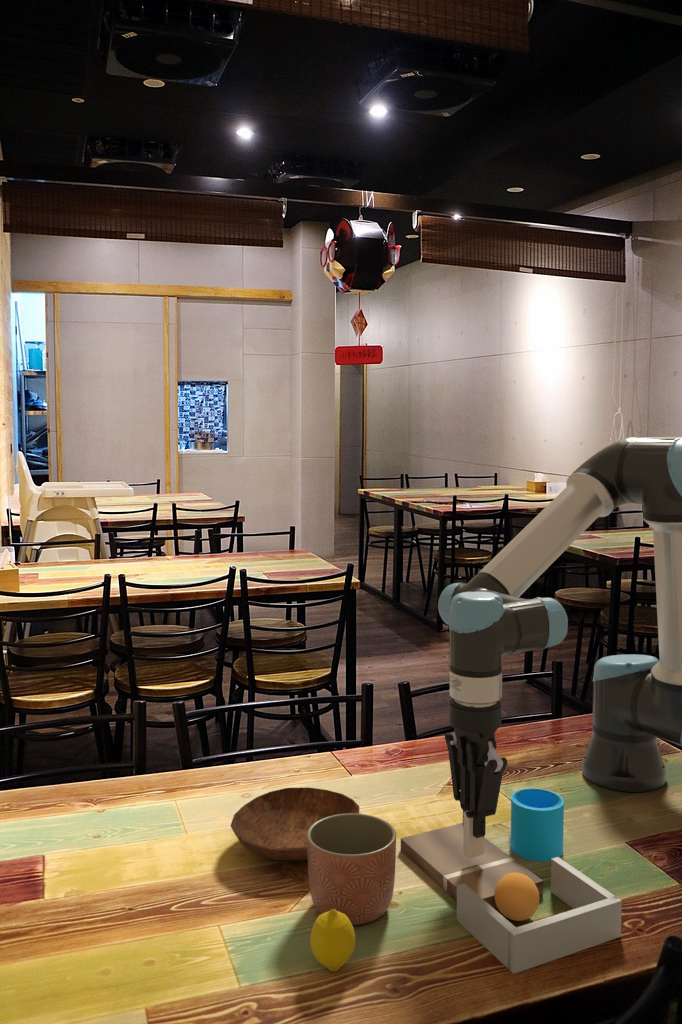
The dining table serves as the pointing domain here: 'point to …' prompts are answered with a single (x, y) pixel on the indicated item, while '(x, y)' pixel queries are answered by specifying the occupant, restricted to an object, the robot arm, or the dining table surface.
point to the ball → (516, 896)
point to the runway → (462, 862)
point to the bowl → (286, 820)
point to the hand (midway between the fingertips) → (473, 853)
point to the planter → (352, 865)
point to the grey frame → (545, 921)
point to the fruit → (332, 939)
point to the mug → (537, 824)
